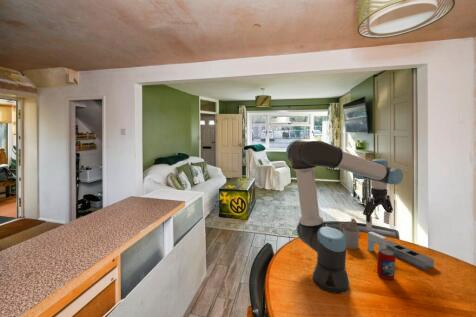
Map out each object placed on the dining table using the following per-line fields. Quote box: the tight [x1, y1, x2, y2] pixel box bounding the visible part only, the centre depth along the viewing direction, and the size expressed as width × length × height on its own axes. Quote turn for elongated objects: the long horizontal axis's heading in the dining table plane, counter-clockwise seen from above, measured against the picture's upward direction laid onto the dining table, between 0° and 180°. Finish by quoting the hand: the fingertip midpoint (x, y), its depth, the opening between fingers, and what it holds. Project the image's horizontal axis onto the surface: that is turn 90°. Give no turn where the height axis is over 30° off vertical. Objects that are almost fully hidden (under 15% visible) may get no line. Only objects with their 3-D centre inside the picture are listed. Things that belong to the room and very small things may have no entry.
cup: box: [343, 227, 360, 250], centre depth 131 cm, size 8×8×10 cm
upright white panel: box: [366, 231, 387, 253], centre depth 121 cm, size 9×3×10 cm, turn 20°
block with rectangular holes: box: [386, 240, 435, 271], centre depth 117 cm, size 7×22×4 cm, turn 20°
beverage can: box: [376, 249, 396, 280], centre depth 101 cm, size 7×7×12 cm
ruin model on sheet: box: [338, 217, 358, 233], centre depth 148 cm, size 11×3×10 cm, turn 100°
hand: (377, 225), depth 121 cm, fingers open, 13 cm apart
